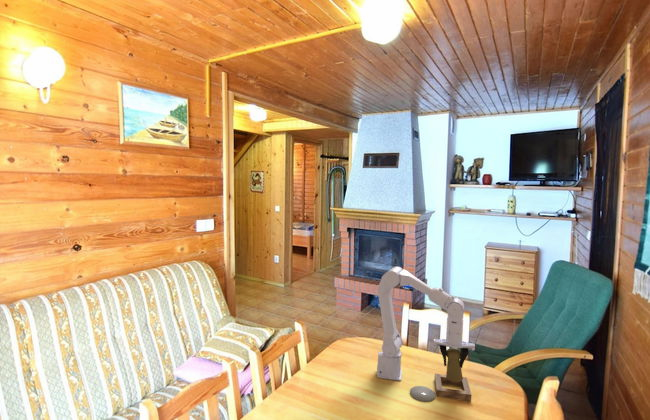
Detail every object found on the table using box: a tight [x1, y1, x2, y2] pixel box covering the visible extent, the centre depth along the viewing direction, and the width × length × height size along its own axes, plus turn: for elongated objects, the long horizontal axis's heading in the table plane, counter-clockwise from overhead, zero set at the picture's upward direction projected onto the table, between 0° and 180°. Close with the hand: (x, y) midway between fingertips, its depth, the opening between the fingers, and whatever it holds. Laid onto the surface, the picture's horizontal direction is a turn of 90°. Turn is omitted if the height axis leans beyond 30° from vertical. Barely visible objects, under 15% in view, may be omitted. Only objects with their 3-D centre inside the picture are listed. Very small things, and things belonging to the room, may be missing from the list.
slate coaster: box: [409, 385, 436, 403], centre depth 135 cm, size 9×9×1 cm
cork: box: [445, 347, 464, 382], centre depth 137 cm, size 6×6×11 cm
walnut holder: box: [434, 373, 472, 402], centre depth 138 cm, size 12×12×2 cm
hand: (452, 365), depth 137 cm, fingers closed on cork, 5 cm apart
